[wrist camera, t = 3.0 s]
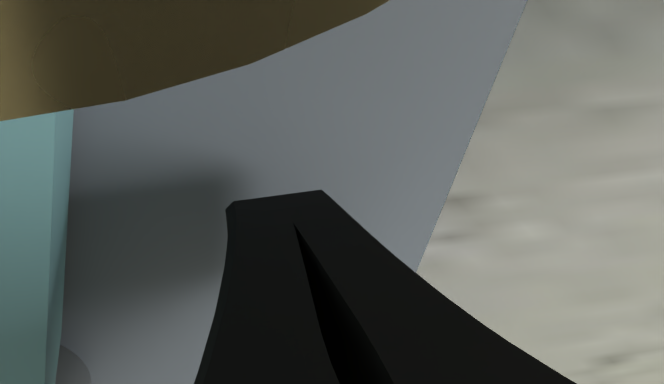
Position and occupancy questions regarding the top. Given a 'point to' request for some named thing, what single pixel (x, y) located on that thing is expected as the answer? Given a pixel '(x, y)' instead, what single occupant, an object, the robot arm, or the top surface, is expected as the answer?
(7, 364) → the lock lever
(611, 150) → the top surface
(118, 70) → the cap
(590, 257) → the top surface
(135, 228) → the post board
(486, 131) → the top surface
